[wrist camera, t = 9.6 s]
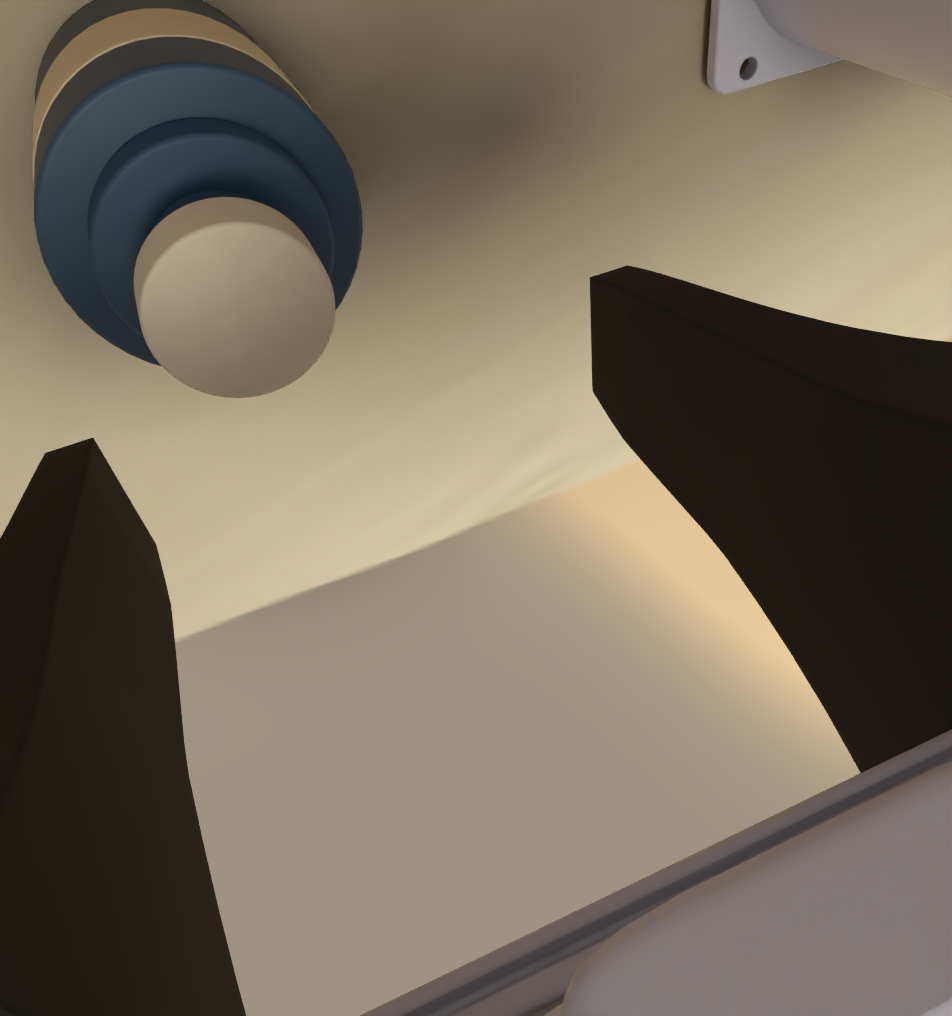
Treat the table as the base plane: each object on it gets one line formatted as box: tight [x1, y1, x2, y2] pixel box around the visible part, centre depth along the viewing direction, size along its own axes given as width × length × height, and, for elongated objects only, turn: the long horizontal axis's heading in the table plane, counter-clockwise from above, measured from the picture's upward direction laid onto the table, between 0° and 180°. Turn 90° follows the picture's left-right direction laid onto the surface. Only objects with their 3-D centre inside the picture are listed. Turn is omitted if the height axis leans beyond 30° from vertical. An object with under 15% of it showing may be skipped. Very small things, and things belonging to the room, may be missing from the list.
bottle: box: [32, 0, 363, 398], centre depth 14 cm, size 5×5×9 cm
